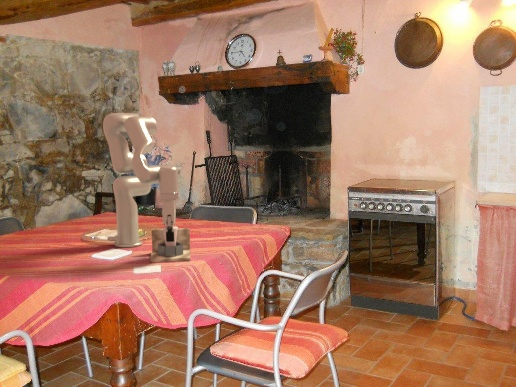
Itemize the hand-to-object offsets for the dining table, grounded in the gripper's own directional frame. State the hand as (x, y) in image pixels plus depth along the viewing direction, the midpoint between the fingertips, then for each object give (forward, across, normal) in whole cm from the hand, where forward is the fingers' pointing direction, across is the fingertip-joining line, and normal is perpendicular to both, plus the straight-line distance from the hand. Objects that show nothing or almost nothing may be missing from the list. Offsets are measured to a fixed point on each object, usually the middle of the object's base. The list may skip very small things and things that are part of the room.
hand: (170, 239), depth 216 cm
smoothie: (+5, 0, 0) cm, 5 cm away
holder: (+7, 0, 0) cm, 7 cm away
